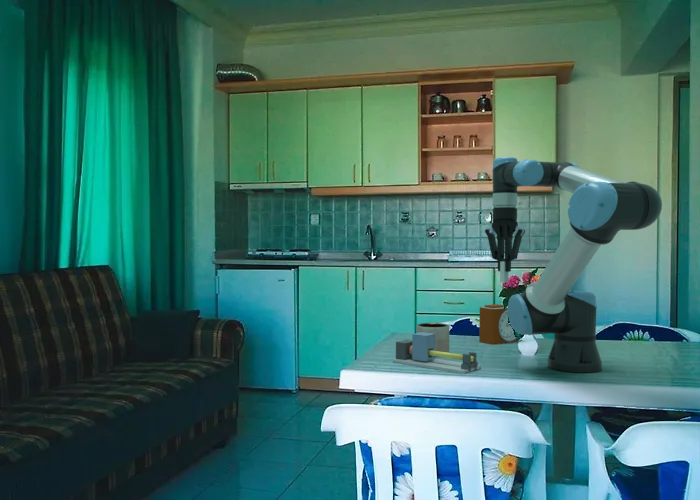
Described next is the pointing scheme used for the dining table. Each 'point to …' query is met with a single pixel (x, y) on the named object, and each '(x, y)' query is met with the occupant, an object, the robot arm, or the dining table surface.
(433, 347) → the sleeve
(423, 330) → the planter
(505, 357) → the dining table surface
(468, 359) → the sliding block rail
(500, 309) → the alarm clock
